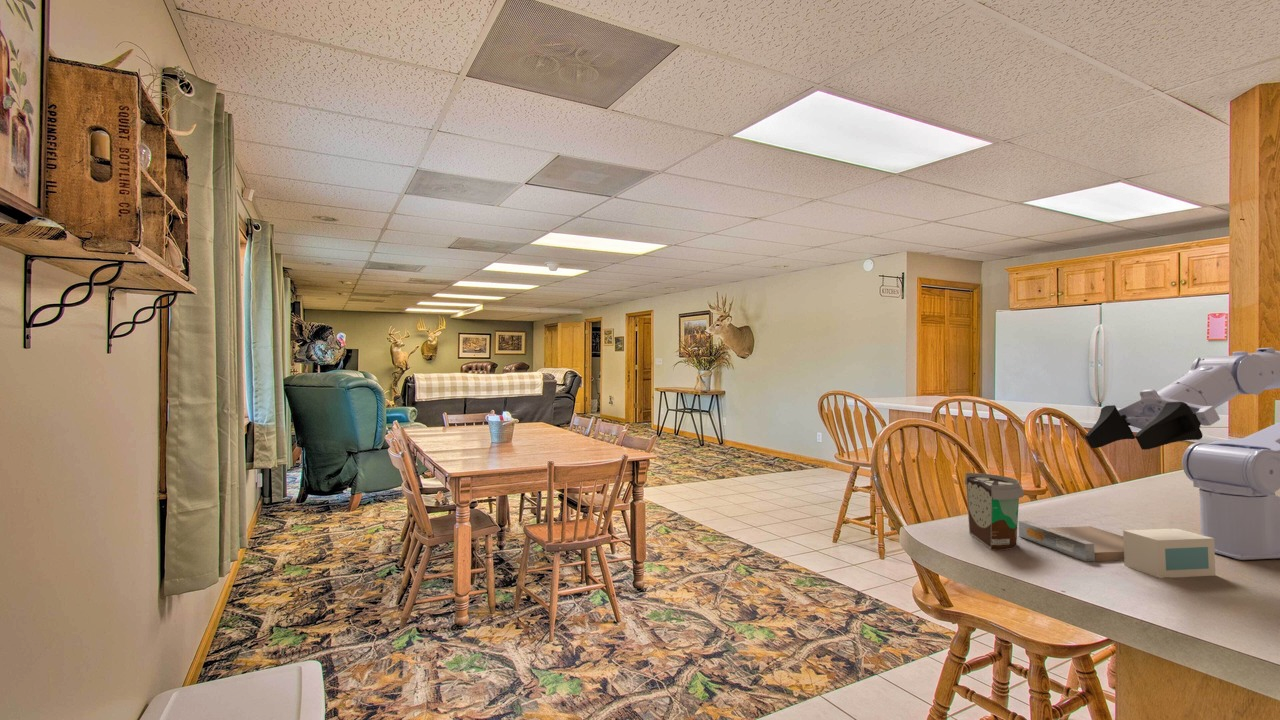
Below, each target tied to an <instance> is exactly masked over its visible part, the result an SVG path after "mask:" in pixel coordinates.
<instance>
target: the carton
mask: <svg viewBox="0 0 1280 720" xmlns="http://www.w3.org/2000/svg"><path fill="white" fill-rule="evenodd" d="M1122 532H1123V534H1122V536H1123V537H1124V560H1123V561H1124V566H1125V567H1128V568H1131V569H1134V570H1136V571H1139V572H1141V573H1144V572H1145V574H1147V573H1148V575H1150V576H1152V575H1153V577H1155V576H1156V577H1155V578H1158V577H1159V578H1158V579H1163V578H1164V577H1170V578H1187V577H1210V576H1217V575H1216V553H1215V548H1214V538H1211V537H1207V536H1203V535H1201V533H1200V534H1199V533H1195V532H1191V531H1188V530H1184V529H1180V528H1153V529H1149V528H1148V529H1127V530H1125V529H1124V530H1122Z"/></svg>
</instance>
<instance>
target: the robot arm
mask: <svg viewBox="0 0 1280 720" xmlns="http://www.w3.org/2000/svg"><path fill="white" fill-rule="evenodd" d="M1192 362H1193V363H1192V364H1191V367H1190V369H1189V371H1188V372H1187V373H1184V374H1183V375H1182V377H1179V378H1178V379H1176V380H1174V381H1173V382H1171V383H1169V384H1168V385H1166V386H1164V387H1163V388H1161V389H1159V390H1158V391H1157V390H1156V389H1143V390H1141V391H1139V396H1140V399H1138V400H1136V401H1134V402H1132V403H1130V404H1128V405H1126V406H1123V407H1121V408H1117V406H1116V405H1115V404H1114V405H1113V404H1112V405H1105V406H1104V407H1102V408H1101V409H1100V413H1099V417H1098V419H1097V421H1096V423H1095V424H1094V425H1093V426H1092V428H1091V429H1089V431H1088V432H1087V433H1086V435H1085V436H1084V437H1085V439H1086V441H1087V443H1088V444H1089V446H1090V448H1091V449H1098V448H1102V447H1105V446H1107V445H1109V444H1112V443H1114V442H1118V441H1122V440H1135V439H1136V441H1137V443H1138V445H1139V447H1140V448H1141V450H1142V451H1143V450H1152V449H1155V448H1158V447H1161V446H1165V445H1169V444H1172V443H1173V444H1174V443H1177V442H1183V441H1194V440H1195V441H1196V440H1197V441H1198V440H1199V441H1200V440H1201V439H1202V438H1203V432H1202V431H1201V427H1202V426H1208V427H1209V426H1210V427H1211V426H1212V425H1214V424H1215V423H1217V422H1219V421H1220V420H1221V417H1220V416H1219V414H1218V412H1217V411H1216V409H1217V408H1219V407H1220V406H1222V405H1223V404H1225V403H1226V402H1228V401H1230V400H1232V399H1234V398H1235V397H1236V396H1239V395H1255V396H1258V395H1260V394H1262V393H1263V392H1264V391H1267V390H1268V391H1269V390H1276V389H1280V350H1276V349H1275V347H1260V348H1256V352H1249V353H1248V351H1246V350H1245V351H1243V350H1241V351H1238V350H1237V351H1233V352H1232V355H1215V356H1213V355H1211V356H1205V357H1200V356H1199V357H1197V358H1196V359H1195V360H1194V361H1192ZM1131 427H1133V428H1137V429H1139V431H1138V432H1136V433H1135V434H1134V433H1133V430H1132V428H1131ZM1181 465H1182V469H1183V472H1184V475H1185V476H1186V478H1188V479H1189V480H1190V481H1191V482H1193V487H1194V488H1198V490H1199V491H1198V493H1199V518H1200V520H1199V521H1200V535H1203V536H1207V537H1211V538H1214V548H1215V554H1219V555H1222V556H1226V557H1229V558H1233V559H1235V560H1242V561H1245V560H1265V559H1266V560H1267V559H1268V560H1269V559H1280V496H1278V495H1277V494H1276V493H1277V491H1279V490H1280V421H1278V422H1276V423H1274V424H1272V425H1270V426H1267V427H1266V428H1263V429H1260V430H1259V431H1256V432H1254V433H1252V434H1249V435H1247V436H1244V437H1242V438H1231V439H1221V440H1220V439H1219V440H1214V441H1212V442H1209V443H1207V442H1194V443H1192V444H1190V445H1189V446H1188V447H1187V448H1186V449H1185V451H1184V452H1183V455H1182V459H1181Z"/></svg>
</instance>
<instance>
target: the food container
mask: <svg viewBox="0 0 1280 720" xmlns="http://www.w3.org/2000/svg"><path fill="white" fill-rule="evenodd" d="M964 485H965V486H966V487H965V488H966V500H967V517H968V529H969V530H968V533H969V534H970V535H971V536H972V537H974V538H975V539H976V540H978V541H979V543H980V542H981V543H982V544H983V545H984V546H985V547H987V548H988V549H990V550H991V551H1004V550H1011V549H1014V548H1015V547H1017V544H1018V541H1017V540H1018V525H1019V521H1018V520H1019V504H1020V503H1019V501H1020V499H1021V498H1023V497H1024V496H1025V494H1024V490H1023V487H1022V484H1020V481H1019V480H1018V479H1016V478H1014V477H1009V476H1004V475H999V474H991V473H980V472H965V477H964Z"/></svg>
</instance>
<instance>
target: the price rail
mask: <svg viewBox="0 0 1280 720" xmlns="http://www.w3.org/2000/svg"><path fill="white" fill-rule="evenodd" d="M1050 528H1051V527H1046V526H1045V525H1040V524H1037V523H1035V522H1033V521H1029V520H1019V521H1018V536H1019V537H1020V538H1022V539H1026V540H1029V541H1031V542H1033V543H1035V544H1039V545H1041V546H1044V547H1047V548H1048V549H1052V550H1054V551H1057V552H1059V553H1062V554H1063V555H1064V554H1065V555H1066V556H1067V555H1068V556H1070V557H1073V558H1075V559H1078V560H1081V561H1083V562H1086V563H1087V562H1096V561H1095V553H1094V543H1091V542H1088V541H1085V540H1082V539H1079V538H1076V537H1073V536H1070V535H1068V534H1065V533H1062V532H1059V531H1056V530H1053V529H1050Z"/></svg>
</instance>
